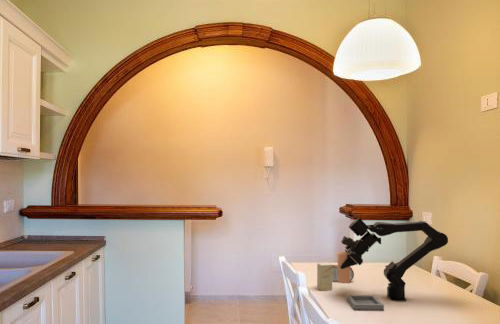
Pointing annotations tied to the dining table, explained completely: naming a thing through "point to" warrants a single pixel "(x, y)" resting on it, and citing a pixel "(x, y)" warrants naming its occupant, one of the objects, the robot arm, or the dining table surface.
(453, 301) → the dining table surface
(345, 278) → the peach square prism
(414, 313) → the dining table surface
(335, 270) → the tin
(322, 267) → the skincare box
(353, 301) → the tray
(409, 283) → the dining table surface
